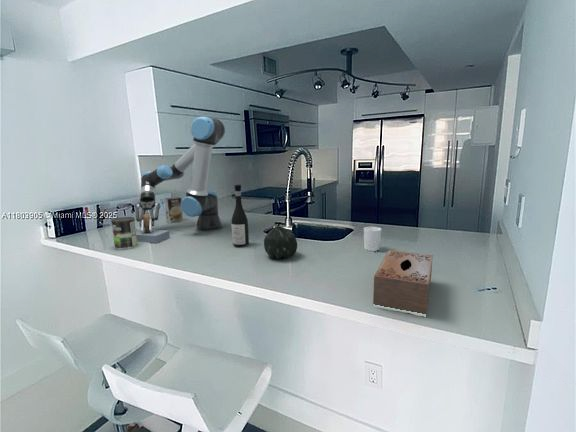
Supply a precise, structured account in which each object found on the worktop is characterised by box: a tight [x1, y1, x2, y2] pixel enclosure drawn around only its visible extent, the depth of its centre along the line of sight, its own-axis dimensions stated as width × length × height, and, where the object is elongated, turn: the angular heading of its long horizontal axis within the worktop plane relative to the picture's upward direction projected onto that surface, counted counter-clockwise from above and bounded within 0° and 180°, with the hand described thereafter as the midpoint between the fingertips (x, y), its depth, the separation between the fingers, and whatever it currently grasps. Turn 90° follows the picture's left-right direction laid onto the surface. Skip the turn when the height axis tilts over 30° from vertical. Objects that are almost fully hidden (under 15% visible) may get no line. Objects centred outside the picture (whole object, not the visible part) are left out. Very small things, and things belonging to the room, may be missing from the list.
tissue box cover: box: [372, 249, 433, 315], centre depth 98 cm, size 26×14×10 cm, turn 153°
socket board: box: [136, 228, 170, 244], centre depth 166 cm, size 18×11×4 cm, turn 76°
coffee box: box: [164, 197, 184, 224], centre depth 207 cm, size 9×6×16 cm
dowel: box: [143, 212, 151, 234], centre depth 164 cm, size 3×3×12 cm
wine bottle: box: [230, 184, 250, 248], centre depth 150 cm, size 8×8×30 cm
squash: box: [263, 225, 298, 260], centre depth 135 cm, size 14×15×15 cm
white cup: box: [363, 226, 382, 250], centre depth 142 cm, size 8×8×10 cm
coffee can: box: [110, 216, 138, 251], centre depth 153 cm, size 10×10×14 cm
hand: (146, 231), depth 161 cm, fingers closed on dowel, 3 cm apart
